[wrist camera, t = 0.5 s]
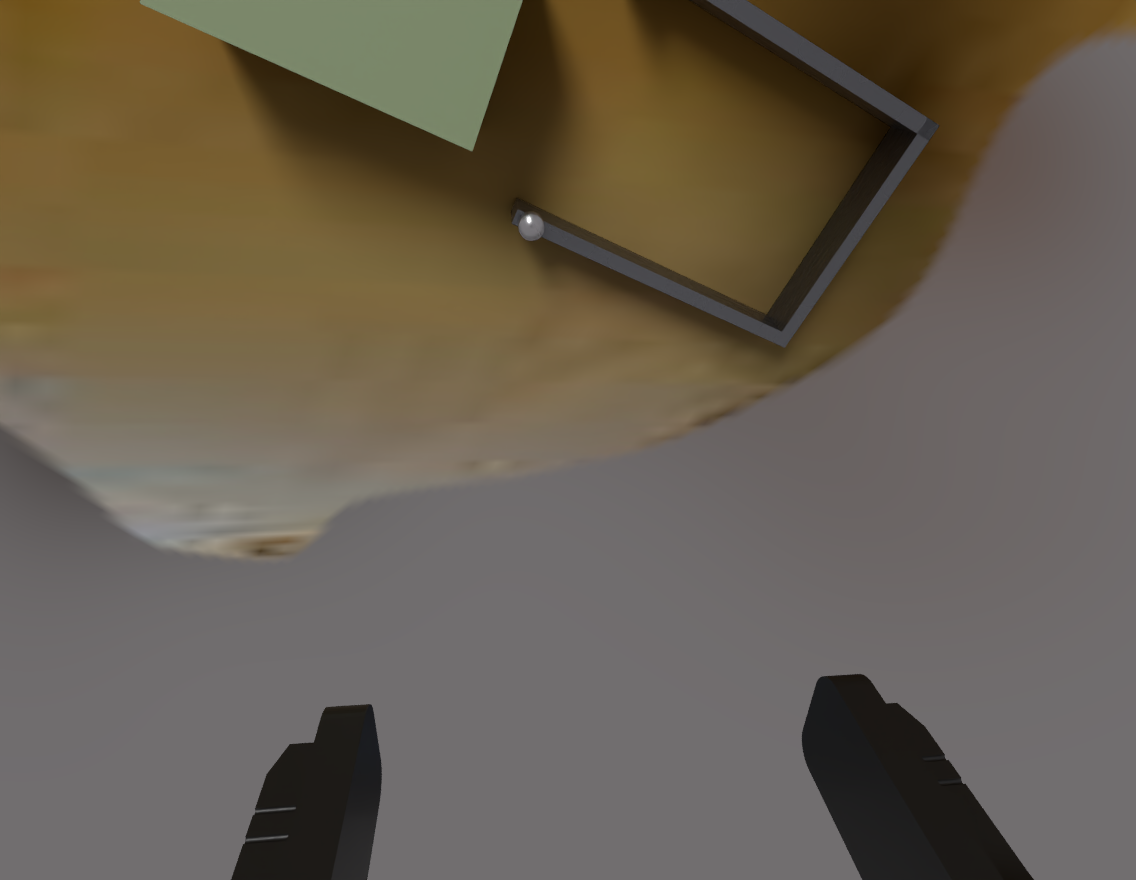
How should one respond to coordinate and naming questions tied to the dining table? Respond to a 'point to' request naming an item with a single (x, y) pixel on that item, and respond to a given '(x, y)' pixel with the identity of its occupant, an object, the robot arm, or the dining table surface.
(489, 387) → the dining table surface
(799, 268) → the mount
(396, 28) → the pale green block
